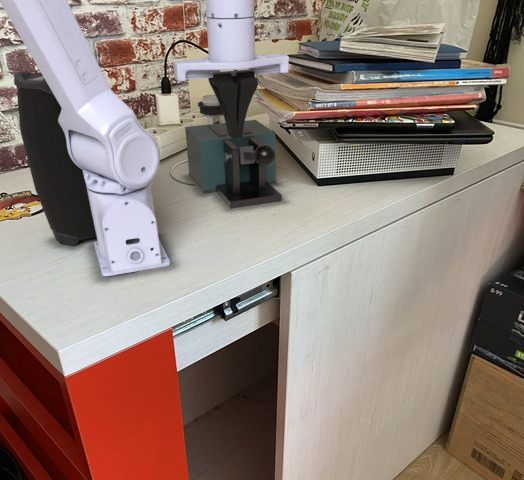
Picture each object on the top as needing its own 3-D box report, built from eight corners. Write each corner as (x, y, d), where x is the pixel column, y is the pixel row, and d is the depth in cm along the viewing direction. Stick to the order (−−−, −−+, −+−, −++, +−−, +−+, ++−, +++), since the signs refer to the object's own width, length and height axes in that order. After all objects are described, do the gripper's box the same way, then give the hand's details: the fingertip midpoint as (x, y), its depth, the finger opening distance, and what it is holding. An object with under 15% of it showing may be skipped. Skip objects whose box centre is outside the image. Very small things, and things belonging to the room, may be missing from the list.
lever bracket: (281, 202, 81) (281, 148, 76) (230, 209, 78) (228, 155, 74) (258, 181, 88) (257, 131, 84) (211, 187, 86) (208, 137, 81)
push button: (210, 148, 104) (207, 91, 98) (236, 150, 102) (234, 93, 96) (197, 158, 99) (192, 99, 93) (224, 160, 97) (221, 101, 91)
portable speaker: (35, 242, 70) (-12, 76, 58) (82, 217, 77) (48, 63, 65) (88, 254, 67) (50, 81, 55) (132, 226, 74) (106, 67, 62)
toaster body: (276, 184, 87) (276, 132, 82) (203, 194, 83) (199, 140, 79) (256, 167, 94) (256, 118, 89) (188, 176, 90) (184, 125, 86)
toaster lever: (279, 165, 71) (277, 143, 70) (259, 168, 71) (257, 145, 70) (251, 163, 82) (249, 144, 81) (233, 166, 81) (231, 146, 80)
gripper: (274, 11, 69) (274, 123, 77) (163, 16, 65) (175, 134, 73) (296, 16, 64) (293, 135, 72) (176, 22, 60) (188, 148, 68)
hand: (235, 136), depth 72 cm, fingers closed
